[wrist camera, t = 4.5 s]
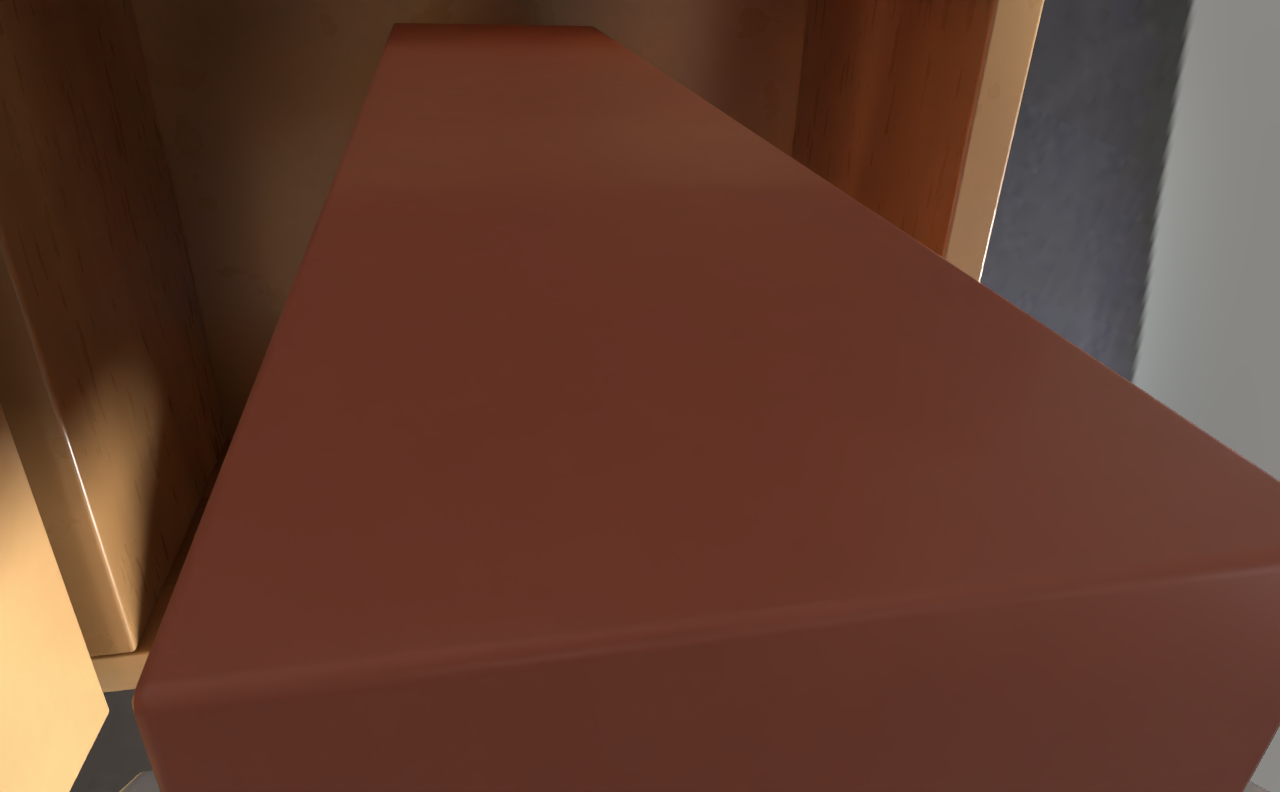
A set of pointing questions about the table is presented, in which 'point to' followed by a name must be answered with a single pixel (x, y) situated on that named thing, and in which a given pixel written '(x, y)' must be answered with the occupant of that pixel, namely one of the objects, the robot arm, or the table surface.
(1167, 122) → the table surface
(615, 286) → the block
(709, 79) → the chest
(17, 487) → the lid
